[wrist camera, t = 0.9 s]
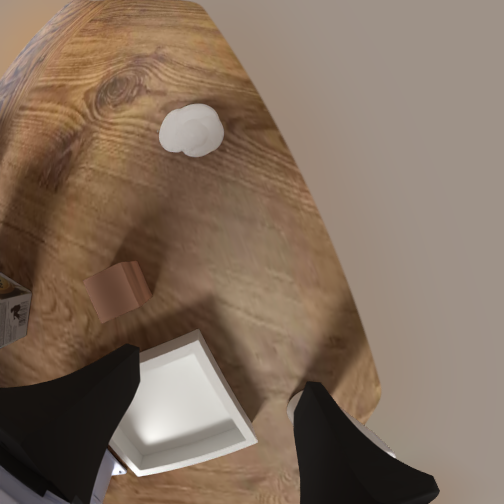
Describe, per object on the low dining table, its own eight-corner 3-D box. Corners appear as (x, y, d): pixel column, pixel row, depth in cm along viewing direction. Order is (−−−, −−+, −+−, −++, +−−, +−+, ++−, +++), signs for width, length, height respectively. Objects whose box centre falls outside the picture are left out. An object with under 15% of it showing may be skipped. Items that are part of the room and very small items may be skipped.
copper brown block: (120, 310, 26) (101, 323, 20) (105, 275, 25) (82, 280, 20) (152, 296, 26) (139, 307, 20) (137, 260, 26) (120, 262, 20)
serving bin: (142, 457, 25) (138, 476, 21) (81, 374, 24) (68, 388, 21) (251, 423, 28) (258, 442, 24) (198, 328, 27) (198, 340, 23)
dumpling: (222, 119, 28) (225, 101, 24) (222, 160, 28) (225, 146, 24) (160, 120, 27) (156, 103, 23) (157, 162, 27) (151, 149, 23)
